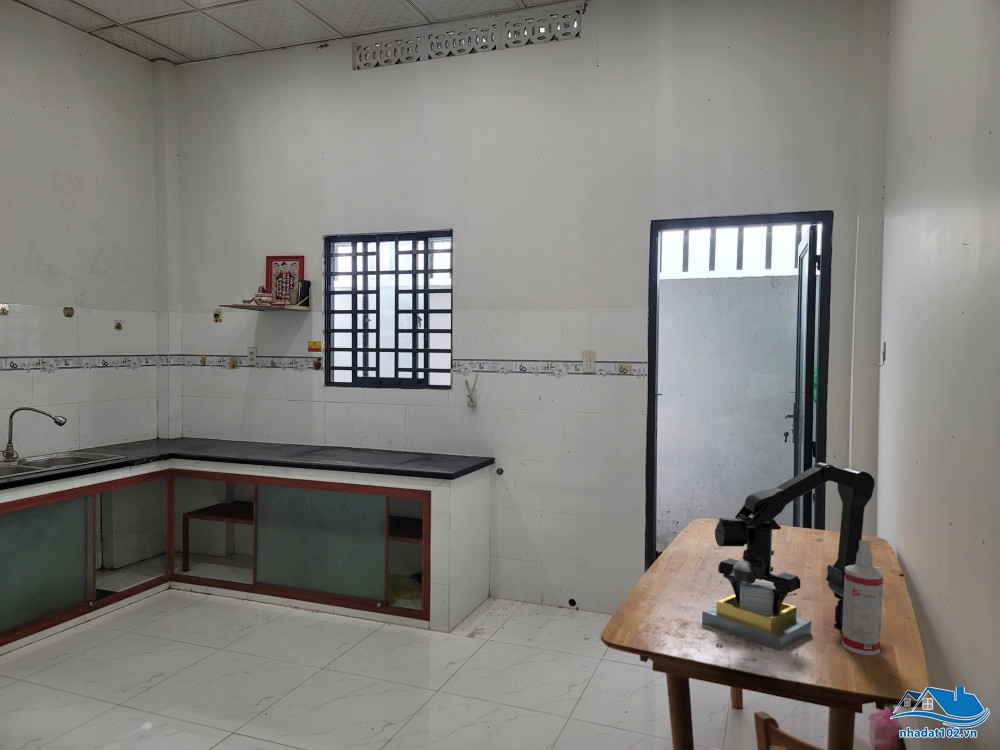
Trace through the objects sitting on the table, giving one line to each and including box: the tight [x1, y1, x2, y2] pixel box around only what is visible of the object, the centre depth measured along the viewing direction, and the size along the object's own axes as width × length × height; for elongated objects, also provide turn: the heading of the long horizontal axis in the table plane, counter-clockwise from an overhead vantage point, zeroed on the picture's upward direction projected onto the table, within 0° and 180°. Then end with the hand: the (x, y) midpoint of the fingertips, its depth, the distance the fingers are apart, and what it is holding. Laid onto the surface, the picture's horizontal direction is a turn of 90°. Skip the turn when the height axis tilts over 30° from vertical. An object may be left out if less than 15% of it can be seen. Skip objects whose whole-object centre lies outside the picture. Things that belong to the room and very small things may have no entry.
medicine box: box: [740, 581, 775, 617], centre depth 164 cm, size 8×4×9 cm, turn 75°
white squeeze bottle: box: [841, 540, 884, 656], centre depth 154 cm, size 8×8×25 cm
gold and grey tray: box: [701, 593, 812, 652], centre depth 164 cm, size 20×16×6 cm
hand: (756, 609), depth 164 cm, fingers closed on medicine box, 9 cm apart
